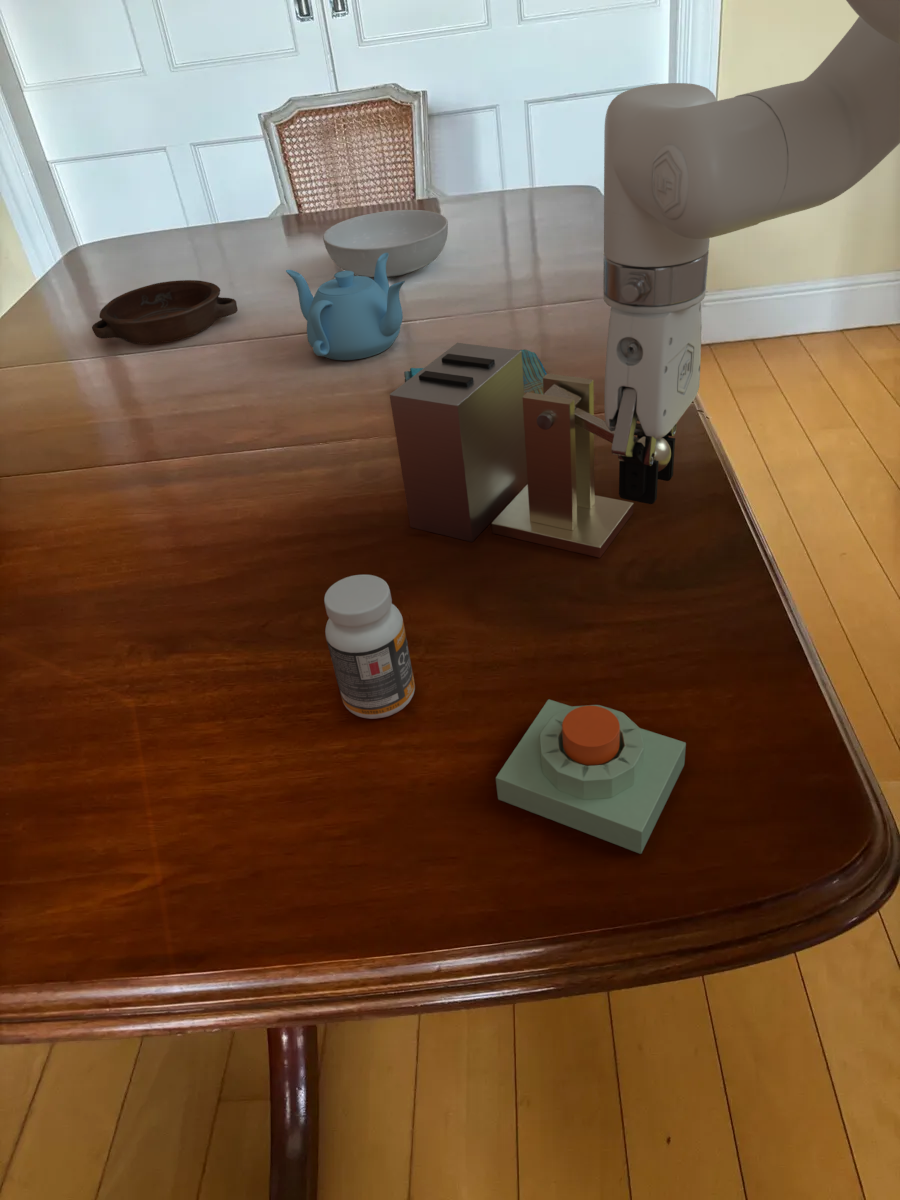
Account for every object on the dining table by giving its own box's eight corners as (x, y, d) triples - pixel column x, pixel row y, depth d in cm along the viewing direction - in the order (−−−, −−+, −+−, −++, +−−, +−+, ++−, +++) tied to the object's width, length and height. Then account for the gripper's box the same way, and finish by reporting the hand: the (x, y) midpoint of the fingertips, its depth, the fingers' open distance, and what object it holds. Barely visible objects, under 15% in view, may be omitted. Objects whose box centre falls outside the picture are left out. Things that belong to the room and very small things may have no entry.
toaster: (529, 480, 92) (521, 346, 83) (472, 542, 84) (457, 400, 75) (470, 469, 95) (456, 338, 86) (410, 527, 87) (388, 390, 78)
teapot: (308, 375, 120) (292, 299, 113) (299, 336, 131) (284, 265, 125) (415, 355, 121) (405, 279, 115) (397, 318, 133) (387, 247, 127)
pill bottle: (426, 706, 67) (408, 602, 61) (354, 732, 66) (328, 628, 60) (401, 661, 72) (383, 560, 66) (333, 685, 70) (307, 584, 64)
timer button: (627, 734, 58) (628, 715, 57) (606, 772, 56) (606, 753, 55) (576, 717, 60) (576, 699, 59) (553, 754, 57) (552, 735, 56)
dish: (99, 325, 145) (88, 295, 142) (235, 299, 148) (227, 268, 145) (95, 364, 131) (83, 331, 128) (244, 334, 135) (236, 301, 132)
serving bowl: (313, 292, 147) (304, 249, 142) (352, 252, 162) (345, 212, 158) (435, 289, 142) (430, 244, 137) (463, 247, 157) (459, 206, 153)
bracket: (633, 513, 85) (636, 376, 77) (600, 558, 80) (599, 417, 71) (529, 492, 90) (521, 362, 82) (492, 533, 85) (479, 399, 76)
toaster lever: (668, 468, 77) (682, 438, 75) (655, 486, 75) (668, 456, 73) (547, 407, 80) (557, 377, 78) (532, 423, 78) (541, 392, 76)
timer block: (684, 765, 60) (687, 723, 58) (641, 854, 55) (642, 812, 53) (549, 720, 65) (547, 680, 62) (497, 799, 60) (493, 758, 57)
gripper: (665, 323, 60) (654, 548, 71) (737, 244, 70) (717, 451, 82) (562, 311, 63) (567, 528, 74) (645, 238, 74) (639, 438, 85)
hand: (646, 486), depth 78 cm, fingers closed on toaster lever, 3 cm apart
